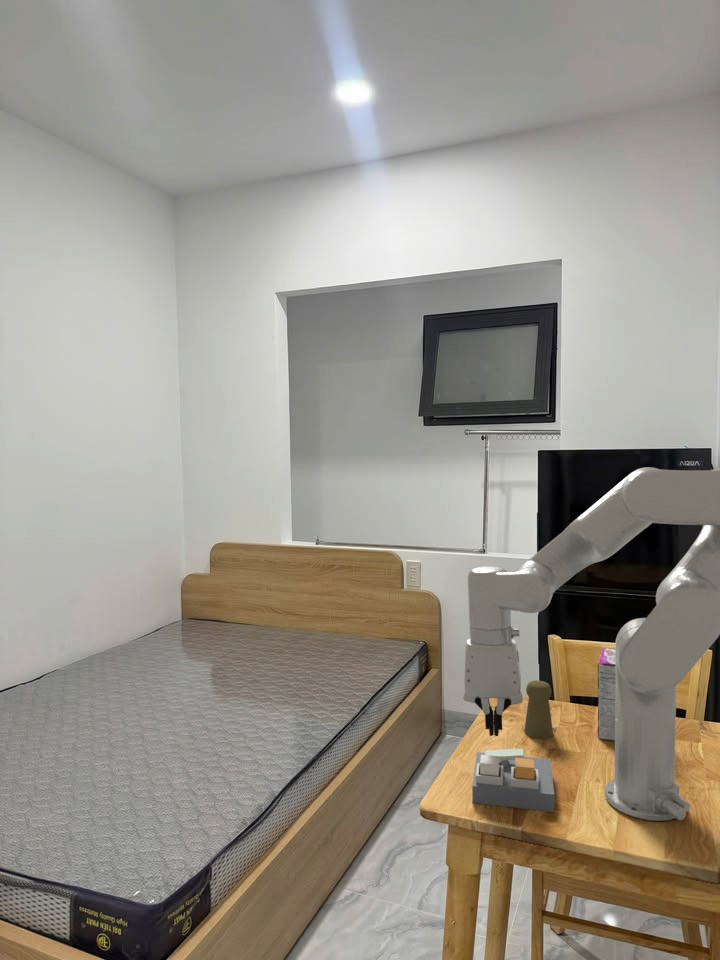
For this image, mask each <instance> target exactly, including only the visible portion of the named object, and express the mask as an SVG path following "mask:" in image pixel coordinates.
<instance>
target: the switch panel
mask: <svg viewBox="0 0 720 960" xmlns="http://www.w3.org/2000/svg"><path fill="white" fill-rule="evenodd" d="M481 755H485V752H476V756H475V764H474V772H473V779H472V787H471V788H472V795H471V796H472V804H480V805H488V806H497V807H504V808H505V807H506V808H516V809H524V810H534V811H543V812H550V813H551V812H553V813H555V788H554V777H553V770H552V769H553V768H552V761H551V758H542V757H541V758H540V757H532V756H524V759H533V760H534V779H524V778H515V760H506V761H499V776H494V775H484V774H480V759H481Z"/></svg>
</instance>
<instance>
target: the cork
mask: <svg viewBox="0 0 720 960" xmlns="http://www.w3.org/2000/svg"><path fill="white" fill-rule="evenodd" d="M525 691H526V694H527V696H528V702H527V709H526V717H525V722H524V730H523V732H524V735H526V736H527V737H530V738H531V739H538V740H547V739H550V738H552V737H553V736H554V730H553V722H552V715H551V706H550V700H549V699H550V697H551V696H552V688H551V685H550V684H549V683H548V682H546V681H543V680H531V681H529V682H528V683H527V685H526V688H525Z"/></svg>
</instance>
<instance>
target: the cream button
mask: <svg viewBox="0 0 720 960" xmlns="http://www.w3.org/2000/svg"><path fill="white" fill-rule="evenodd" d="M480 774H484V775H494V776H499V756H490V755H481V759H480Z"/></svg>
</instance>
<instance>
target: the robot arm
mask: <svg viewBox="0 0 720 960" xmlns="http://www.w3.org/2000/svg"><path fill="white" fill-rule="evenodd" d="M652 524H666V525H667V524H668V525H687V526H689V525H690V526H693V525H694V526H702V527H701V531H699V534H698V536H697V537H696V539H695V541H694V542H693V544H692V545H691V546H690V548H689V549H688V551H687V552H686V553H685V554H684V556H682V558H681V559H680V560H679V561H678V563H677V564H676V566H675V567H674V568H673V569H672V570H671V571H670V572H669V574H667V576H666V577H665V578H664V579H663V580H662V581H661V583H660V584H659V586H658V587H657V590H656V594H655V603H656V605H655V607H654V608H653V609H652V610H651V612H650V613H649V614H648V615H647V617H640V618H635V619H632V620H629V621H628V622H626V623H625V624H624V625H623V626H622V627H621V628H620V630H619V631H618V633H617V635H616V638H615V644H614V646H615V647H614V649H615V662H616V706H615V741H614V779H613V780H611V781H609V782H608V783H606V785H605V787H604V797H605V799H606V801H607V802H608V803H609V804H610V805H611V806H612V807H613V808H614V809H616V810H618V811H619V812H621V813H623V814H626V815H628V816H629V817H633V818H637V819H640V820H645V821H653V822H654V821H656V822H661V821H662V822H663V821H671V820H674V819H677V820H678V821H683V820H684V819H685V817H686V816H687V812H689V811H690V810H691V804H690V803H689V802H688V801H686V800H685V799H683V797H682V795H680V786H679V785H677V784H676V783H675V773H676V771H675V769H676V768H675V767H676V766H675V765H676V764H675V761H676V757H675V756H676V749H675V748H676V718H677V716H676V715H677V687H676V686H677V685H679V684H680V683H681V682H682V681H683V679H684V678H685V677H686V676H687V675H688V673H689V672H690V671H691V670H692V669H693V668H694V667H695V666H696V664H697V663H698V661H699V660H700V659H702V657H703V656H704V655H705V653H706V652H707V651H708V649H710V648H711V646H712V645H713V644H714V643H715V642H716V640H717V639H718V638H719V637H720V467H718V468H713V469H710V470H709V469H708V470H702V469H701V470H700V469H699V470H687V469H686V470H685V469H684V470H682V469H681V470H679V469H678V470H677V469H660V468H656V467H652V466H651V467H647V466H646V467H641V468H637V469H635V470H634V471H632V472H630V473H629V474H628V475H627V476H625V477H624V478H623V479H622V480H621V481H620V482H618V483H617V484H616V485H615V486H614V487H613V488H611V489H610V490H609V491H608V492H606V494H604V495H603V496H602V497H601V498H599V500H597V501H596V502H595V503H593V504H592V505H591V506H590V507H589V508H587V510H585V511H584V512H582V513H581V514H580V515H579V516H578V517H577V518H575V519H574V520H573V521H572V522H571V523H569V525H568V526H567V527H566V528H564V530H563V531H562V532H561V533H559V534H558V535H557V536H556V537H554V538H553V539H552V540H551V541H550V542H548V543H547V544H546V545H545V546H544V547H543V548H541V549H540V550H539V551H538V552H536V553H535V554H534V555H533V556H532V557H530V558H529V559H528V560H527V561H526V562H524V563H523V564H522V565H521V566H520V567H519V568H518V569H517V571H515V572H514V571H513V572H508V571H507V570H506V569H505V568H504V567H500V566H478V567H474V568H472V569H471V570H469V572H468V575H467V590H468V594H467V595H468V614H469V615H468V617H469V619H468V620H469V622H468V623H469V638H468V639H467V640H466V642H465V643H466V644H465V647H464V648H465V649H464V663H463V664H464V669H463V685H464V693H463V701H465V702H468V703H471V704H475V705H476V706H477V707H479V709H480V710H482V712H483V714H484V718H485V719H484V721H485V724H484V725H485V730H489V733H488V734H489V736H490V737H492V736H495V737H499V733H500V731H503V713H504V712H505V711H506V710H507V709H508V708H509V707H510V706H514V705H519V704H522V703H523V702H524V700H523V694H522V691H521V689H522V688H521V685H522V684H521V683H522V682H521V681H522V679H521V676H522V675H521V667H520V666H521V665H520V656H519V649H518V644H517V641H516V639H515V640H514V638H516V637H520V629H519V628H514V626H512V618H511V617H512V613H511V612H512V611H514V612H518V613H519V612H520V613H524V614H537V613H539V612H542V611H543V610H545V609H546V608H547V607H548V606H549V605H550V604H551V600H552V598H553V595H554V593H555V592H556V591H557V590H558V589H559V588H561V587H562V586H563V585H564V584H565V583H567V582H568V581H569V580H570V579H572V578H573V577H574V576H576V574H578V573H579V572H581V571H582V570H584V569H585V568H587V567H589V566H590V565H591V566H592V565H593V564H595V563H599V562H602V561H605V560H607V559H608V558H610V557H612V556H613V555H614V554H616V553H617V552H618V551H619V550H621V549H622V548H623V547H624V546H626V544H628V543H629V542H630V541H632V540H633V539H634V538H635V537H636V536H638V535H639V534H640V533H642V532H643V531H644V530H645V529H647V528H649V526H650V525H652ZM490 699H497V701H496V705H495V707H494V709H493V707H492V706H491V702H490V701H491V700H490Z"/></svg>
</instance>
